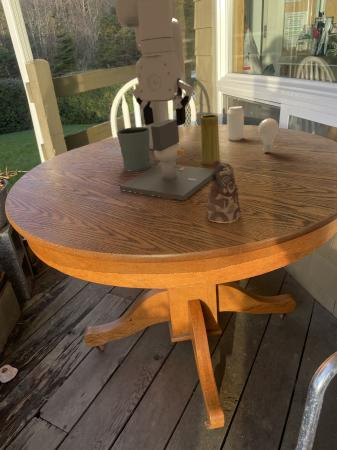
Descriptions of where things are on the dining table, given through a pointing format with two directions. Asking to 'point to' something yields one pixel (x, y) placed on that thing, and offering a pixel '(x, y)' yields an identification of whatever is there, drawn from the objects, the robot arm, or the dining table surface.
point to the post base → (169, 180)
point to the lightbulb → (268, 133)
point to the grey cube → (166, 141)
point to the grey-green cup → (135, 147)
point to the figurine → (223, 194)
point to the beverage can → (235, 123)
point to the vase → (209, 139)
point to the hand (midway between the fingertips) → (164, 124)
